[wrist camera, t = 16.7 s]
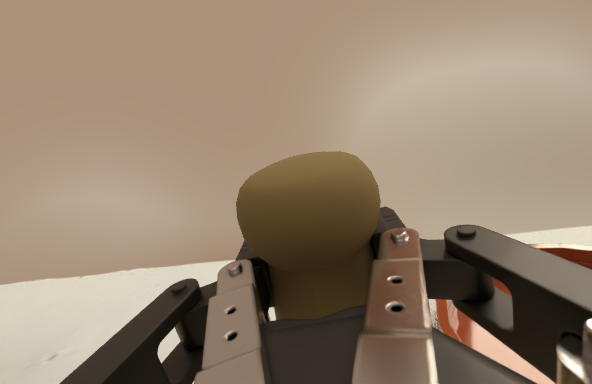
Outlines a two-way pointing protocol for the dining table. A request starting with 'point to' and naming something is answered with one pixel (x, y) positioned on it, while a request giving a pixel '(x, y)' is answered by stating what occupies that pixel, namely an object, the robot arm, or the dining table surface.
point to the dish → (486, 343)
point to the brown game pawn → (312, 231)
